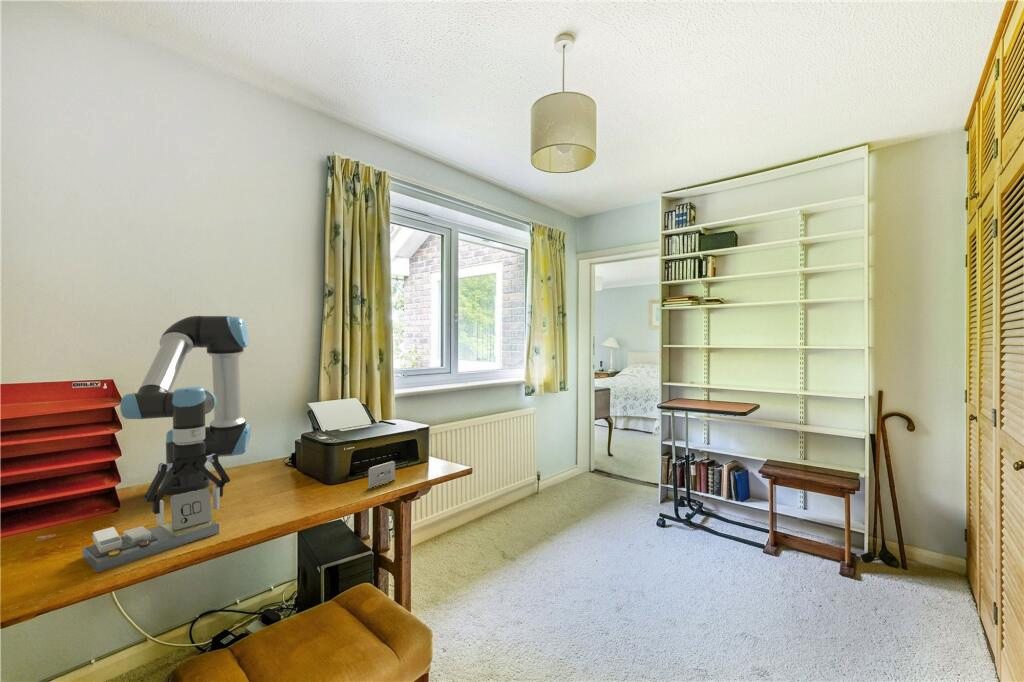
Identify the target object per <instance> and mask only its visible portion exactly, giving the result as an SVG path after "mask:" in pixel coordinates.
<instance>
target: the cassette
mask: <svg viewBox="0 0 1024 682" xmlns="http://www.w3.org/2000/svg"><path fill="white" fill-rule="evenodd" d="M381 473H383V474H381ZM394 479H395V480H396V461H394V460H391V461H389V462H385V463H384V462H383V463H382V464H378V465H374V466H372V467H370V468H369V469H368V489H370V488H371V489H372V487H374V486H377V485H380V484H383V483H386V482H389V481H392V480H394ZM392 482H393V481H392ZM374 488H375V487H374Z"/></svg>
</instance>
